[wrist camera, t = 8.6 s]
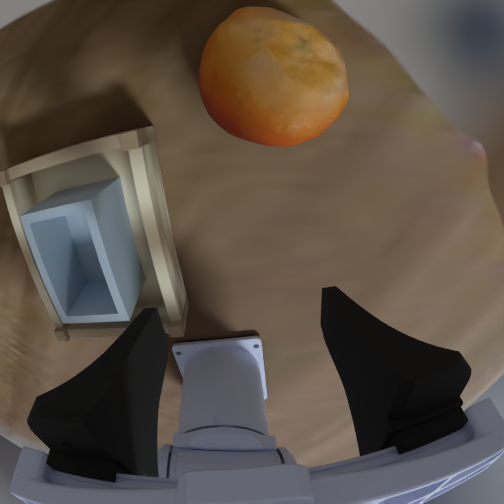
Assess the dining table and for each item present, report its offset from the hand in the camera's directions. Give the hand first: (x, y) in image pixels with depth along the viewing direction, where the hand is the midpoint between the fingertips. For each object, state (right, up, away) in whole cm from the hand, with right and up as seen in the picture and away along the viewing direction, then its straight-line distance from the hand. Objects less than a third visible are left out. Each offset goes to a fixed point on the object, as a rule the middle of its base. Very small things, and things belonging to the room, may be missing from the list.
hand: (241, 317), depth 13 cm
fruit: (+1, +14, +5) cm, 15 cm away
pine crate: (-11, +4, +8) cm, 14 cm away
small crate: (-11, +4, +8) cm, 14 cm away
